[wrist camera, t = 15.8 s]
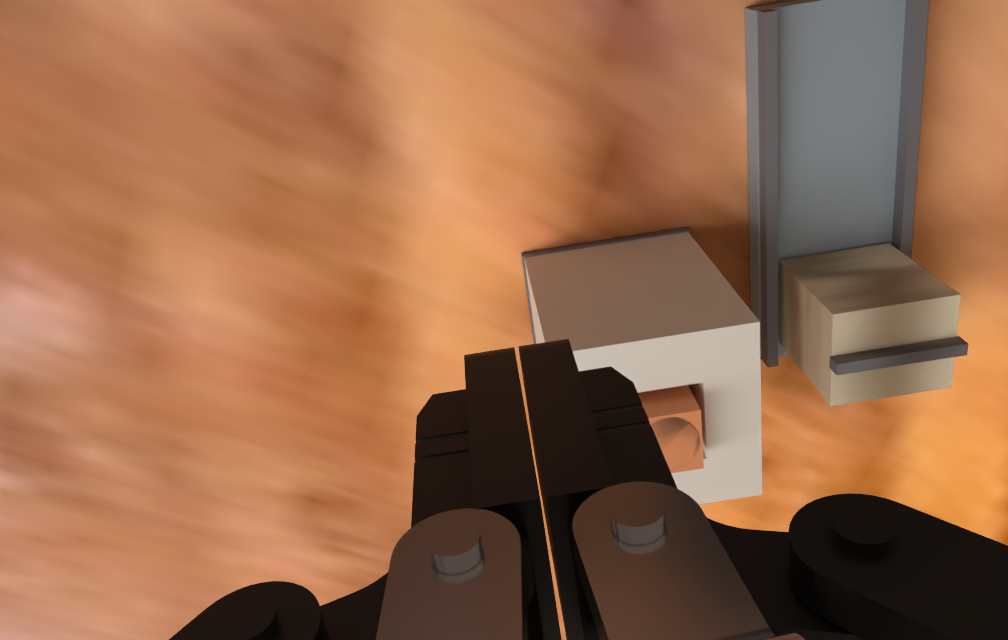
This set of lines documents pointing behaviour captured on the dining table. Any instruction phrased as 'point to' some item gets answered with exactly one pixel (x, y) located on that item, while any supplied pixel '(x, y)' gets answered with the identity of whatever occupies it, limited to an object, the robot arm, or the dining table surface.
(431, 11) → the dining table surface
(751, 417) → the light grey hollow box
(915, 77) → the rail
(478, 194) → the dining table surface
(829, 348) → the carriage
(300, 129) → the dining table surface
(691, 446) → the orange dimpled block
